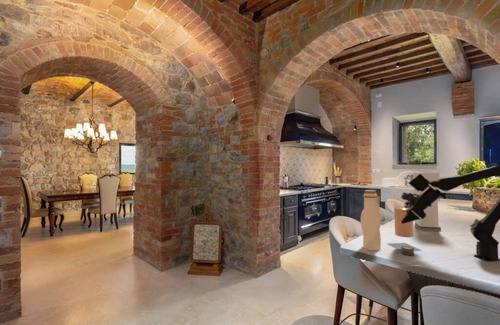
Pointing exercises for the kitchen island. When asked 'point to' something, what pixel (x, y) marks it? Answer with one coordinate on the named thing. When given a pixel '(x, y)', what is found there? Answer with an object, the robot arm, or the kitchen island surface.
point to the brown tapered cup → (405, 228)
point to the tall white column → (431, 212)
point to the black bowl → (407, 250)
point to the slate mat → (399, 245)
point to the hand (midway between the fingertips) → (400, 221)
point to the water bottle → (371, 221)
